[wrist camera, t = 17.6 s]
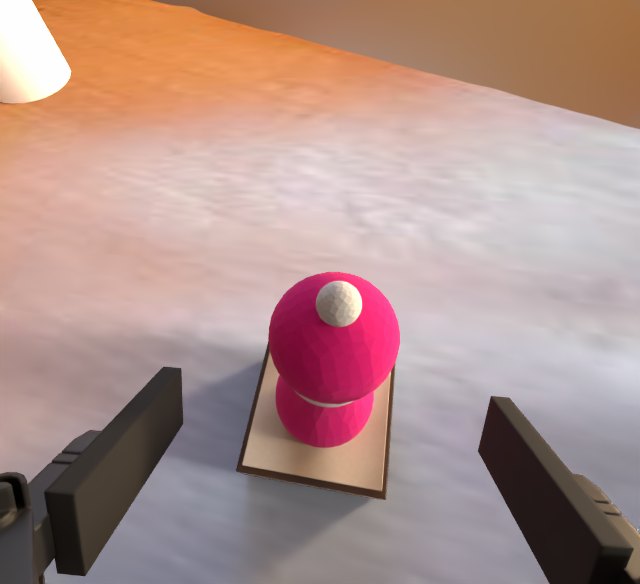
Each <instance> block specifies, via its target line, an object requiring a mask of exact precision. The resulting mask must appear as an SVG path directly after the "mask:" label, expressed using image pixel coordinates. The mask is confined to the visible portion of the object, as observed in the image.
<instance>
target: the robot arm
mask: <svg viewBox="0 0 640 584" xmlns="http://www.w3.org/2000/svg"><path fill="white" fill-rule="evenodd" d="M182 425H183V407H182V377H181V368H171V367H163V368H162V369H161V370H160V371H159V372H158V373H157V374H156V375H155V376H154V377H153V378H152V379H151V380H150V381H149V382H148V383H147V385H146V386H145V387H144V388H143V389H142V390H141V391H140V392H139V393H138V394H137V395H136V396H135V397H134V398H133V399H132V400H131V401H130V402H129V403H128V404H127V405H126V406H125V408H124V409H123V410H122V411H121V412H120V413H119V414H118V415H117V416H116V417H115V418H114V419H113V420H112V421H111V422H110V423H109V424H108V425H107V426H106V427H105V428H104V429H103V431H94V430H90V431H88V432H86V433H84V434H83V435H81V436H79V437H78V438H76V439H74V440H73V441H72V442H71V443H70V444H69V445H68V446H67V447H66V448H65V449H64V450H63V451H62V453H60V454H59V455H58V456H56V457H55V458H54V459H53V460H52V463H49V464H48V465H47V466H46V467H45V468H44V469H43V470H42V471H41V472H40V473H39V474H38V475H37V476H36V477H35V478H34V479H33V480H32V481H31V482H30V483H29V484H27V480H26V478H25V476H24V475H22V474H20V473H17V472H6V473H2V474H0V584H45V578H44V573H43V572H44V571H45V570H46V568H47V567H48V566H49V564H50V563H51V562H52V560H53V559H54V558H55V562H56V568H57V573H59V574H69V575H79V576H86V574H87V572H88V571H89V569H90V568H91V566H92V565H93V563H94V562H95V560H96V558H97V557H98V555H99V554H100V552H101V551H102V549H103V548H104V546H105V544H106V543H107V541H108V540H109V538H110V537H111V535H112V534H113V532H114V530H115V529H116V527H117V526H118V524H119V523H120V521H121V520H122V518H123V516H124V515H125V513H126V512H127V510H128V509H129V507H130V506H131V504H132V502H133V501H134V499H135V498H136V496H137V495H138V493H139V492H140V490H141V488H142V487H143V485H144V484H145V482H146V481H147V479H148V478H149V476H150V474H151V473H152V471H153V470H154V468H155V467H156V465H157V464H158V462H159V460H160V459H161V457H162V456H163V454H164V453H165V451H166V450H167V448H168V446H169V445H170V443H171V442H172V440H173V439H174V437H175V436H176V434H177V432H178V431H179V429H180V428H181V426H182ZM478 452H479V454H480V456H481V458H482V459H483V461H484V463H485V465H486V467H487V469H488V471H489V472H490V474H491V476H492V478H493V480H494V482H495V484H496V485H497V487H498V489H499V491H500V493H501V495H502V496H503V498H504V500H505V502H506V504H507V506H508V508H509V509H510V511H511V513H512V515H513V517H514V519H515V521H516V522H517V524H518V526H519V528H520V530H521V532H522V533H523V535H524V537H525V539H526V541H527V543H528V545H529V546H530V548H531V550H532V552H533V554H534V556H535V558H536V559H537V561H538V563H539V565H540V567H541V569H542V571H543V572H544V574H545V576H546V578H547V580H548V582H549V583H550V584H640V534H639V533H638V532H637V531H636V529H635V528H634V527H633V526H632V525H631V524H630V523H629V521H628V520H627V519H626V518H625V517H624V516H622V513H621V512H620V511H619V510H618V509H617V508H616V507H615V505H613V504H611V501H610V500H609V499H608V497H607V496H606V495H605V494H604V493H603V492H602V491H601V489H600V488H599V487H597V486H596V485H595V484H593V483H592V482H591V481H589V480H588V479H587V478H585V477H584V476H583V475H578V474H572V473H571V472H570V471H569V469H568V468H567V467H566V466H565V465H564V463H563V462H562V461H561V460H560V459H559V457H558V456H557V455H556V454H555V452H554V451H553V450H552V449H551V448H550V446H549V445H548V444H547V443H546V442H545V440H544V439H543V438H542V437H541V436H540V434H539V433H538V432H537V431H536V429H535V428H534V427H533V426H532V425H531V423H530V422H529V421H528V420H527V419H526V417H525V416H524V415H523V414H522V413H521V411H520V410H519V409H518V408H517V406H516V405H515V404H514V403H513V402H512V400H511V399H510V398H506V397H495V396H491V398H490V403H489V407H488V411H487V415H486V419H485V424H484V428H483V432H482V436H481V441H480V445H479V449H478Z"/></svg>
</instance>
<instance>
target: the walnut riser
mask: <svg viewBox="0 0 640 584" xmlns="http://www.w3.org/2000/svg"><path fill="white" fill-rule="evenodd" d="M279 375H280V374H279V373H278V371H277V369H276V368H275V366H274V364H273V360H272V357H271V353H270V350H269V341H268V345H267V349H266V353H265V357H264V361H263V365H262V369H261V373H260V377H259V381H258V385H257V389H256V393H255V397H254V401H253V405H252V409H251V413H250V417H249V421H248V425H247V429H246V433H245V437H244V441H243V445H242V449H241V453H240V457H239V461H238V465H237V469H236V471H237V472H240V473H243V474H247V475H251V476H257V477H262V478H267V479H272V480H278V481H283V482H288V483H293V484H299V485H304V486H309V487H315V488H320V489H325V490H330V491H336V492H341V493H346V494H351V495H357V496H362V497H367V498H373V499H383V500H386V493H387V478H388V464H389V449H390V434H391V420H392V405H393V390H394V376H395V364H394V366H393V368H392V370H391V372H390V373H389V375H388V377H387V379H386V380H385V381H384V382H383V383H382V384H381V385H380V386H379V387H378V388H377V389H376V390H374V402H373V408H372V411H371V414H370V417H369V419H368V422H367V423H366V425H365V426H364V428H363V429H362V430H361V432H360V433H359V434H358V435H357V436H355V437H354V438H353V439H352V440H350V441H349V442H346V443H344V444H342V445H340V446H336V447H330V448H319V447H313V446H310V445H307V444H305V443H303V442H301V441H299V440H298V439H296V438H295V437H294V436H292V435H291V434H290V433H289V432H288V430H287V429H286V428H285V427H284V425H283V423H282V422H281V420H280V417H279V415H278V412H277V408H276V400H275V396H276V385H277V380H278V377H279Z"/></svg>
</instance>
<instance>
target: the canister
mask: <svg viewBox="0 0 640 584" xmlns="http://www.w3.org/2000/svg"><path fill="white" fill-rule="evenodd" d="M70 74H71V71H70V68H69V66H68V64H67V62H66V61H65V59H64V57H63V55H62V54H61V52H60V50H59V48H58V46H57V45H56V43H55V41H54V39H53V38H52V36H51V34H50V32H49V30H48V29H47V27H46V25H45V23H44V22H43V20H42V18H41V16H40V14H39V13H38V11H37V9H36V7H35V6H34V4H33V2H32V0H0V102H3V103H26V102H32V101H36V100H39V99H42V98H45V97H47V96H49V95H51V94H53V93H55V92H57V91H58V90H60V89H61V88H62V87H63V86H64V85H65V84H66V83H67V81H68V80H69V78H70Z"/></svg>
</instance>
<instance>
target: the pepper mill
mask: <svg viewBox="0 0 640 584" xmlns="http://www.w3.org/2000/svg"><path fill="white" fill-rule="evenodd" d="M268 339H269V350H270V353H271V357H272V360H273V364H274V366H275V368H276V369H277V371H278V373H279V374H280V375H279V377H278V380H277V385H276V396H275V400H276V408H277V412H278V415H279V417H280V420H281V422H282V423H283V425H284V427H285V428H286V429H287V430H288V432H289V433H290V434H291V435H292V436H294V437H295V438H296V439H298V440H299V441H301V442H303V443H305V444H307V445H310V446H313V447H319V448H330V447H336V446H340V445H342V444H344V443H346V442H349V441H350V440H352V439H353V438H354V437H355V436H357V435H358V434H359V433H360V432H361V430H362V429H363V428H364V426H365V425H366V423H367V422H368V419H369V417H370V414H371V411H372V408H373V402H374V390H376V389H377V388H378V387H379V386H380V385H381V384H382V383H383V382H384V381H385V380H386V379H387V377H388V375H389V373H390V372H391V370H392V368H393V366H394V364H395V361H396V358H397V354H398V350H399V345H400V331H399V325H398V321H397V318H396V315H395V313H394V310H393V308H392V306H391V304H390V303H389V301H388V300H387V298H386V297H385V296H384V295H383V294H382V293H381V292H380V291H379V290H378V289H377V288H376V287H375V286H373V285H372V284H371V283H370V282H368V281H366V280H364V279H362V278H361V277H358V276H355V275H351V274H347V273H341V272H326V273H321V274H317V275H313V276H310V277H307V278H305V279H304V280H302V281H300V282H298V283H297V284H295V285H294V286H293V287H292V288H290V289H289V290H288V291H287V292H286V293H285V294H284V295H283V297H282V298H281V300H280V301H279V303H278V304H277V306H276V307H275V310H274V312H273V314H272V317H271V322H270V327H269V338H268Z"/></svg>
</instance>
